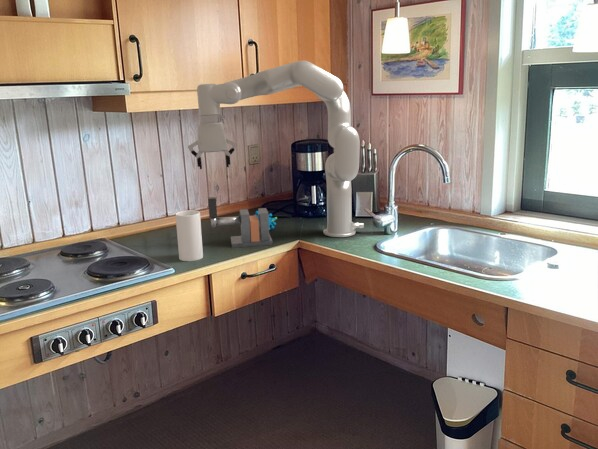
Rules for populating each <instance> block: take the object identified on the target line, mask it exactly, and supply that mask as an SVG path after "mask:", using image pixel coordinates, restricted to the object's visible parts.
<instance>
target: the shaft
mask: <svg viewBox="0 0 598 449" xmlns="http://www.w3.org/2000/svg"><path fill="white" fill-rule="evenodd" d="M207 198H208V199H207V203H208V216H209V219H210V227H211V228H217V227H218V226H227V225H229V226H230V225H241V216H240V215H238V216H225V217H222V216H221V217H218V208H217V197H216V196H211V197H210V196H208V197H207Z"/></svg>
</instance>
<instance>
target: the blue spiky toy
mask: <svg viewBox="0 0 598 449" xmlns="http://www.w3.org/2000/svg"><path fill="white" fill-rule="evenodd" d="M268 214H269V232H270V231H271V230H274V229H275V227H276V225H277V223H276V222H275V221H276V220H278V217H277V216H275V217H273V214H272V213H268ZM254 215H257V218H258V221H259V216H258V210H256V211H255V214H254Z"/></svg>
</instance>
